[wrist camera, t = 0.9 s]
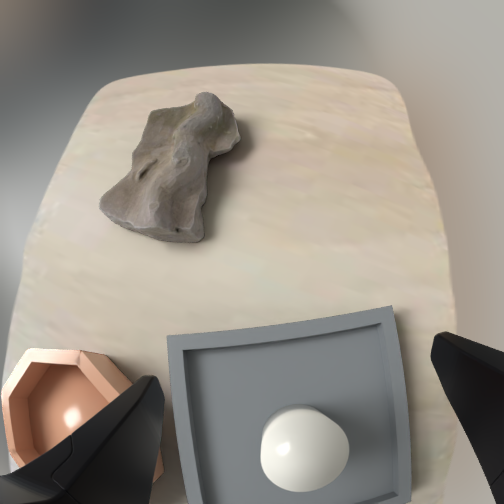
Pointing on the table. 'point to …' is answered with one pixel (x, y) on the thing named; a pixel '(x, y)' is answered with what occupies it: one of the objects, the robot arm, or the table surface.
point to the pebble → (302, 448)
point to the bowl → (57, 399)
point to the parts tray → (287, 393)
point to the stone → (172, 170)
